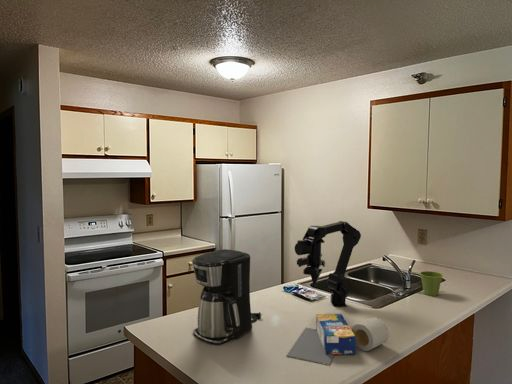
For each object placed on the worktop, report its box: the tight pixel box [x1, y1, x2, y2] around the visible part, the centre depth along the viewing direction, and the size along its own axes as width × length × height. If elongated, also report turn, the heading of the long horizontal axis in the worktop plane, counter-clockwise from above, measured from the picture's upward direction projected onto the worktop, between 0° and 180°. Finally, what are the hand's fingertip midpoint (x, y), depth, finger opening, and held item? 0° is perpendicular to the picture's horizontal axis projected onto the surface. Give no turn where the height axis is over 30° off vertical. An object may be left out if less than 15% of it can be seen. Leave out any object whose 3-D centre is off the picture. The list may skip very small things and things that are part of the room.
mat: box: [286, 327, 335, 366], centre depth 149 cm, size 26×16×1 cm, turn 157°
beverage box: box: [315, 313, 356, 355], centre depth 152 cm, size 7×11×22 cm
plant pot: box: [419, 270, 444, 297], centre depth 206 cm, size 12×12×11 cm
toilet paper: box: [351, 317, 390, 352], centre depth 148 cm, size 10×10×10 cm
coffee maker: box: [192, 248, 263, 345], centre depth 163 cm, size 23×32×34 cm
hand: (314, 284), depth 182 cm, fingers closed
